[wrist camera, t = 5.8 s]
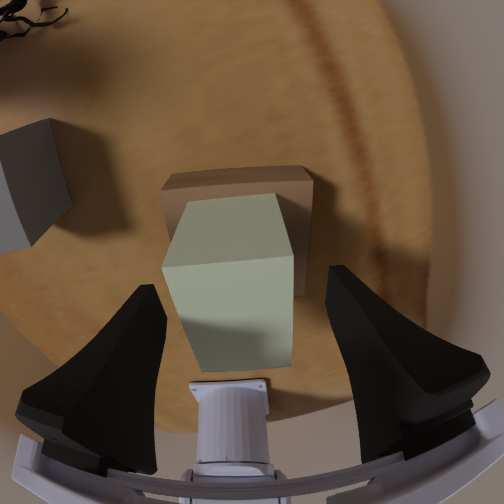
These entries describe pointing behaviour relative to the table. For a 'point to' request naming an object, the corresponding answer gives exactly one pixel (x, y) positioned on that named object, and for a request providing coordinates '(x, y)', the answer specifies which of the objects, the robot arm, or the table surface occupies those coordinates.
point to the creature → (20, 17)
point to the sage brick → (233, 282)
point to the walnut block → (250, 183)
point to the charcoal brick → (30, 185)
